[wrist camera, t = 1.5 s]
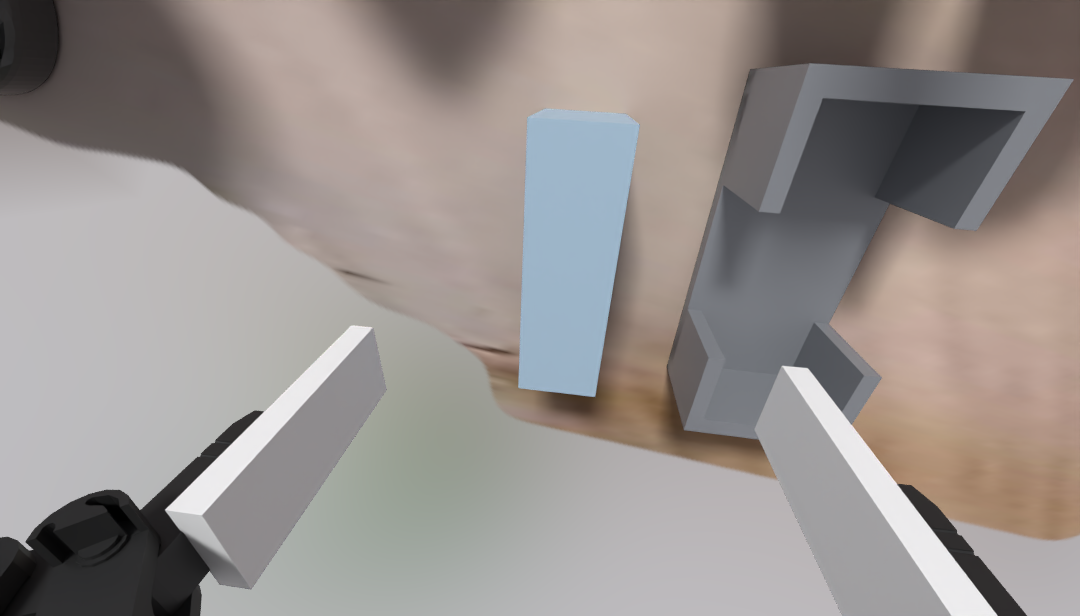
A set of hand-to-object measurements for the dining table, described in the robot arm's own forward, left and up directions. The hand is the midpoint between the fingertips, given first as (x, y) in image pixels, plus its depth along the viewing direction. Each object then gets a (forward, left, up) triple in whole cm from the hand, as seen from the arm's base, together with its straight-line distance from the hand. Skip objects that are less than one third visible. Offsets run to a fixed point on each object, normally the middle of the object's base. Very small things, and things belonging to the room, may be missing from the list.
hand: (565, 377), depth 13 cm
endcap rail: (+14, -1, -17) cm, 22 cm away
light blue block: (0, -1, -17) cm, 17 cm away
